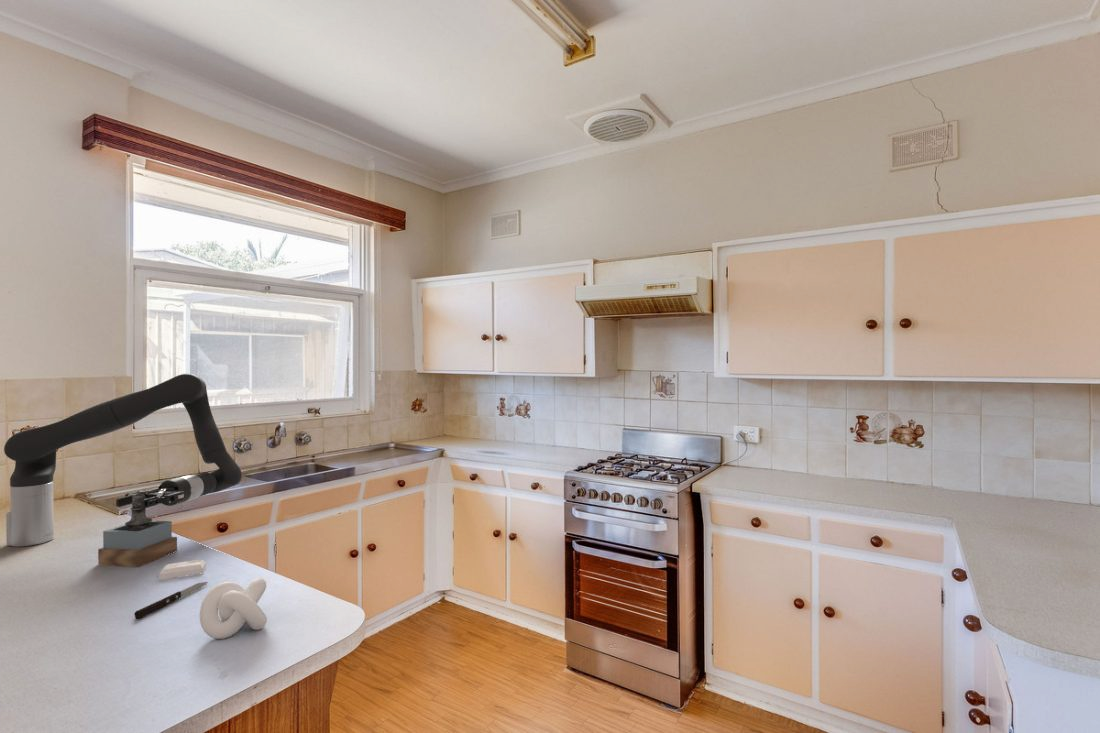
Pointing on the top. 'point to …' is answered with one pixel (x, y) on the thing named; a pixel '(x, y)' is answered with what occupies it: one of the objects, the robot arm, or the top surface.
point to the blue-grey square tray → (137, 536)
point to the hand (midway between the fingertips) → (130, 503)
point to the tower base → (137, 554)
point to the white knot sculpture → (232, 608)
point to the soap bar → (182, 569)
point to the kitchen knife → (166, 601)
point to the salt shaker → (138, 514)
